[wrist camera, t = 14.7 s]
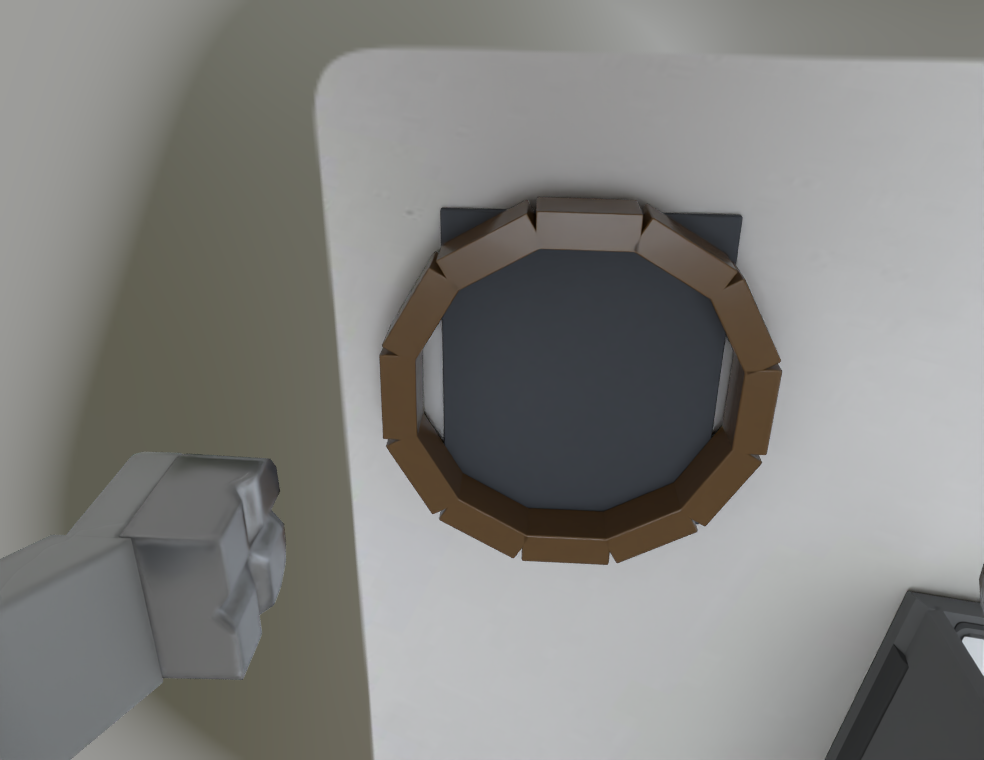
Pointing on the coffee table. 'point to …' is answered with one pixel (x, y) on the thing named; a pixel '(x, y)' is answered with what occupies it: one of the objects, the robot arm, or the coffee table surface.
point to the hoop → (580, 530)
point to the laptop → (921, 687)
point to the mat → (581, 371)
